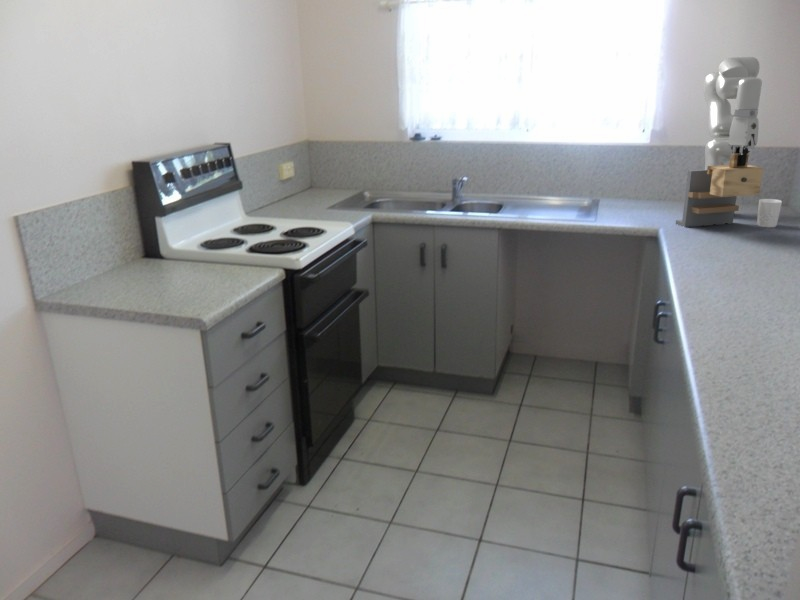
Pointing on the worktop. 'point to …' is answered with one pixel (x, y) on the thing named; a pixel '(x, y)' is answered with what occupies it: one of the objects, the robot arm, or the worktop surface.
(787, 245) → the worktop surface
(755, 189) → the wooden box
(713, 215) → the wall board
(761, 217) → the white cup
